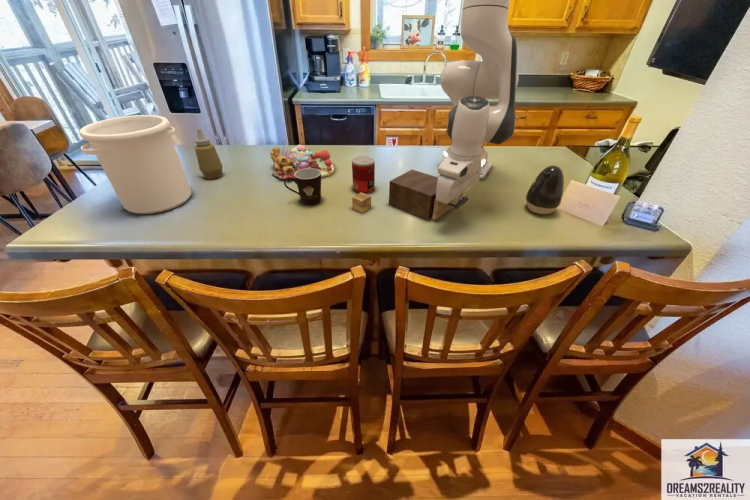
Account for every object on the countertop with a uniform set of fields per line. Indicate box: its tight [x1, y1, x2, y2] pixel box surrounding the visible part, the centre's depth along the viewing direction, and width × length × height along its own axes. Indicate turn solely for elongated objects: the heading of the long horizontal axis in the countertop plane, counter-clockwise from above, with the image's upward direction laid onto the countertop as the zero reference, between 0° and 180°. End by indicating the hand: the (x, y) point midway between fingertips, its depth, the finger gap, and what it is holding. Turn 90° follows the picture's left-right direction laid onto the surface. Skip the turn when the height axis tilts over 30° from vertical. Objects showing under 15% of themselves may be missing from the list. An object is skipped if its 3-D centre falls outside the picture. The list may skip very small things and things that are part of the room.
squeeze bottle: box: [194, 128, 223, 180], centre depth 119 cm, size 8×8×18 cm
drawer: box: [430, 195, 470, 221], centre depth 101 cm, size 20×11×7 cm, turn 50°
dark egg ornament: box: [525, 165, 565, 215], centre depth 100 cm, size 10×10×15 cm
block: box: [351, 192, 372, 214], centre depth 104 cm, size 4×4×4 cm
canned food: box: [351, 155, 376, 194], centre depth 113 cm, size 8×8×11 cm
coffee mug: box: [283, 168, 322, 207], centre depth 106 cm, size 12×9×10 cm
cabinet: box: [388, 169, 439, 221], centre depth 104 cm, size 16×13×9 cm
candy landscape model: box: [269, 144, 335, 182], centre depth 128 cm, size 25×24×9 cm
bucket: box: [79, 114, 192, 215], centre depth 101 cm, size 26×22×25 cm
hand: (455, 205), depth 97 cm, fingers closed
